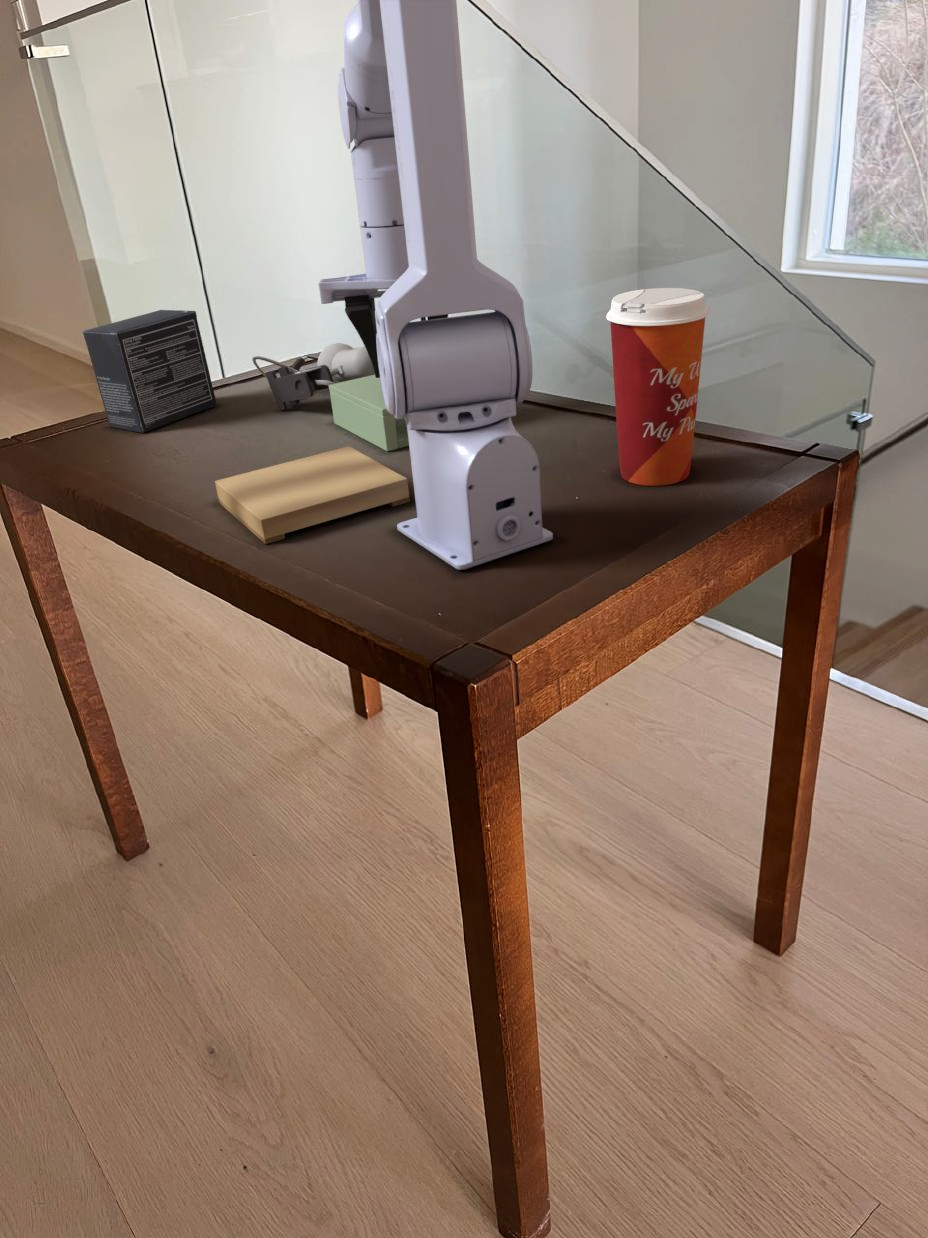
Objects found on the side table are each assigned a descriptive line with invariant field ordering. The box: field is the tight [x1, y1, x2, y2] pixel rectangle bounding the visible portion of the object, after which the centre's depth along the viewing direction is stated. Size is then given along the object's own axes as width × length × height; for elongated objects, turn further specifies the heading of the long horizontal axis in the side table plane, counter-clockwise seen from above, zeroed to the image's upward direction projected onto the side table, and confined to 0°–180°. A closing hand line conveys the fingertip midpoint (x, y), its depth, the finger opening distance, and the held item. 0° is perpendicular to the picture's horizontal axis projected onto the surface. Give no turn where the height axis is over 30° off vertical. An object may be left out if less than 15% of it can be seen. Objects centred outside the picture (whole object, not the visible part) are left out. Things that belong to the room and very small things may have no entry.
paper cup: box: [605, 287, 711, 487], centre depth 74 cm, size 8×8×14 cm
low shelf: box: [214, 445, 411, 545], centre depth 78 cm, size 11×12×2 cm
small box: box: [82, 309, 218, 434], centre depth 102 cm, size 11×6×10 cm, turn 144°
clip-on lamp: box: [251, 342, 375, 412], centre depth 106 cm, size 12×6×18 cm
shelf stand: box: [328, 375, 409, 452], centre depth 94 cm, size 12×12×4 cm
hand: (407, 372), depth 93 cm, fingers closed on can, 5 cm apart
